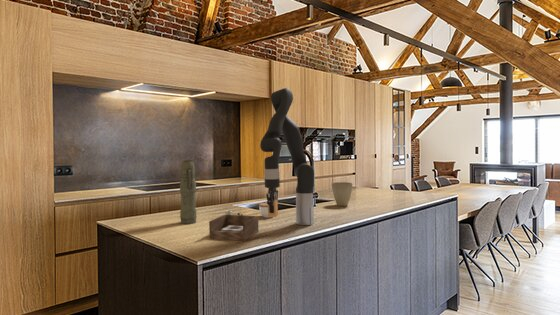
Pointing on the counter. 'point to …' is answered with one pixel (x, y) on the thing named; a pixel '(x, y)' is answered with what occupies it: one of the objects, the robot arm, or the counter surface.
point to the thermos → (188, 193)
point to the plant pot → (342, 192)
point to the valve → (231, 212)
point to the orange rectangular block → (274, 210)
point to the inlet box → (233, 227)
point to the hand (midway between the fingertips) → (273, 211)
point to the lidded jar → (263, 209)
